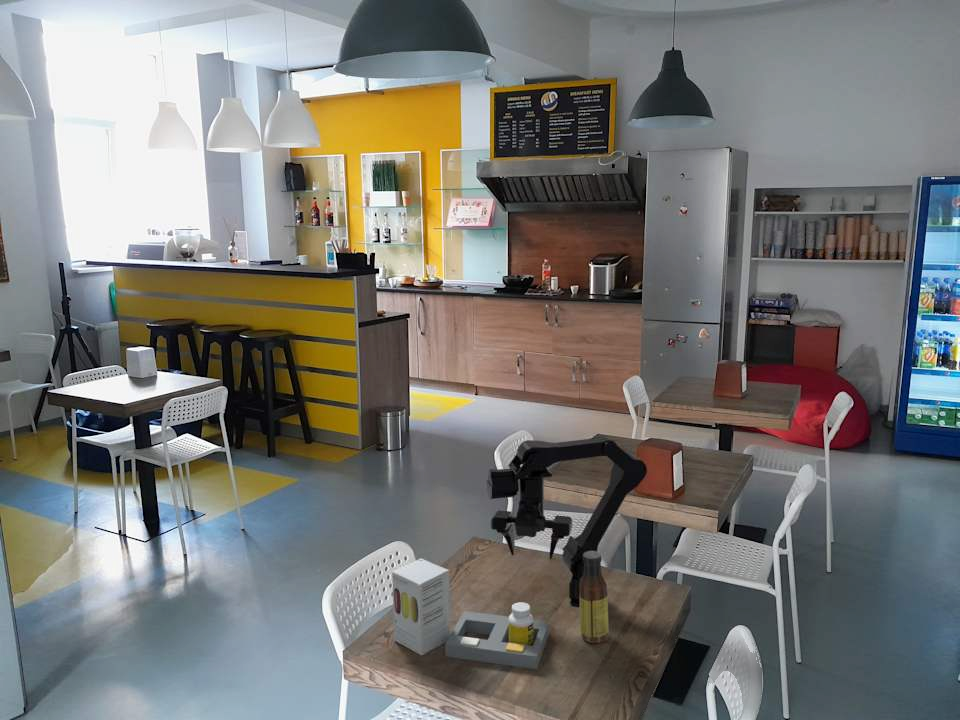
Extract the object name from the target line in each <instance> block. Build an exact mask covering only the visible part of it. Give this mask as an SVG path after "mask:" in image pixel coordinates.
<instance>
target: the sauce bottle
mask: <svg viewBox="0 0 960 720" xmlns="http://www.w3.org/2000/svg"><path fill="white" fill-rule="evenodd" d="M583 561H584V574H583V575H582V577H581V579H580V581H579V588H580V593H579V600H580V606H579V621H580V622H579V623H580V624H579V626H580V634H581V637H582V639H583V640H584V641H585V642H588V643H591V644H602V643H604V642H606V641H607V640H608V637H609V631H610V630H609V604H608V603H609V602H608V601H609V599H608V596H609V595H608V588H607V587H608V586H607V583H606V581H605V579H604V577H603V575H602V566H601V565H602V554H601V553H600V552H599V551H597V552H596V551H587V552H585V553H584V554H583Z"/></svg>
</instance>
